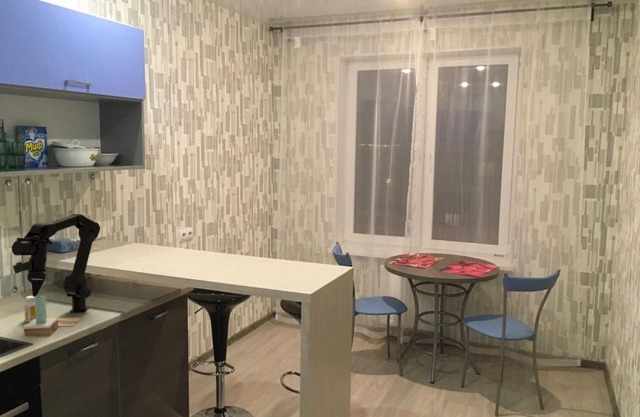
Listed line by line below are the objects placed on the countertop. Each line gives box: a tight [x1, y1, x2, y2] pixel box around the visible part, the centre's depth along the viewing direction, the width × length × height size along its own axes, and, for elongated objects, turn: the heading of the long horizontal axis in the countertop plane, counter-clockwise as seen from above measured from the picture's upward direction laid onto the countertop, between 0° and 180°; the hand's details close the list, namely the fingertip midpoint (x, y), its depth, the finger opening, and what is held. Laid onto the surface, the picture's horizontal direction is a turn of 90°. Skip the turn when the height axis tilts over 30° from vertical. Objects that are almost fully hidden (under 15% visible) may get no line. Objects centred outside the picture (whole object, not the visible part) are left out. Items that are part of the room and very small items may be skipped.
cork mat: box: [56, 316, 82, 328], centre depth 218 cm, size 10×10×1 cm
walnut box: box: [23, 320, 59, 337], centre depth 207 cm, size 9×9×3 cm
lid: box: [24, 295, 58, 329], centre depth 206 cm, size 9×9×11 cm
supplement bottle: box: [23, 295, 38, 323], centre depth 220 cm, size 5×5×10 cm
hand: (34, 295), depth 212 cm, fingers open, 9 cm apart
